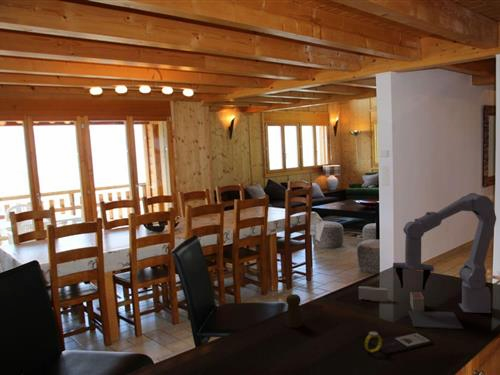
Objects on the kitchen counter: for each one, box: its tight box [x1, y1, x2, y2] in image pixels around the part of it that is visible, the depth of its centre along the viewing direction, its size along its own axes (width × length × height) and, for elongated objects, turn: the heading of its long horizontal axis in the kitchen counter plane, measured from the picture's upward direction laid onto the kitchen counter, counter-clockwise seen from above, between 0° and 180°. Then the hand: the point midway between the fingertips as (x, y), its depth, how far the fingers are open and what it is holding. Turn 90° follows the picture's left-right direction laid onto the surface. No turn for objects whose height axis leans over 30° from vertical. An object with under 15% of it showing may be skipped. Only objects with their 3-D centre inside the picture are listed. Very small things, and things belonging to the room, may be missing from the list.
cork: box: [285, 293, 304, 329], centre depth 160 cm, size 6×6×11 cm
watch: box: [364, 331, 383, 354], centre depth 137 cm, size 6×3×6 cm, turn 114°
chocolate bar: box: [368, 331, 434, 356], centre depth 141 cm, size 9×1×18 cm
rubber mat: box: [407, 310, 464, 330], centre depth 157 cm, size 16×14×1 cm
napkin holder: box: [358, 285, 389, 302], centre depth 181 cm, size 15×11×6 cm
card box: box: [409, 291, 425, 311], centre depth 170 cm, size 4×7×5 cm, turn 168°
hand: (412, 288), depth 166 cm, fingers open, 7 cm apart
